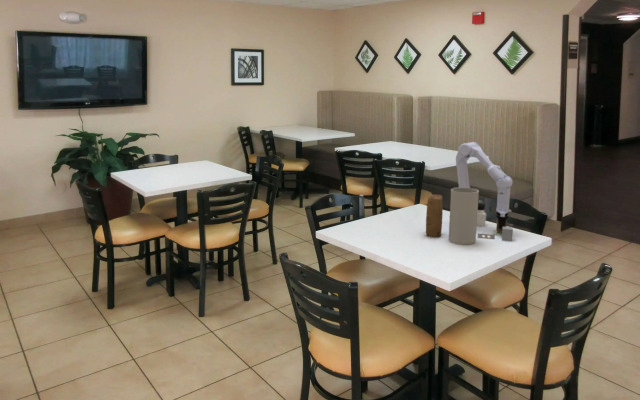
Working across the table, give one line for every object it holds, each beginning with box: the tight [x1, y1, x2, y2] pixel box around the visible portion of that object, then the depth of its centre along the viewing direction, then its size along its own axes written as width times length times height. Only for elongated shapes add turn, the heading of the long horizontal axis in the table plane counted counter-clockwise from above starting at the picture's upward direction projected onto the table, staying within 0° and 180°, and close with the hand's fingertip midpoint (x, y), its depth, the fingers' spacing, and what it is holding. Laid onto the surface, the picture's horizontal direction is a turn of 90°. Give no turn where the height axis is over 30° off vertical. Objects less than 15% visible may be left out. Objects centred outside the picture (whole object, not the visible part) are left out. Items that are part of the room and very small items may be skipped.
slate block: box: [501, 226, 514, 242], centre depth 257 cm, size 4×4×6 cm
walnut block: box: [496, 218, 508, 232], centre depth 267 cm, size 4×4×6 cm
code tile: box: [477, 233, 496, 240], centre depth 263 cm, size 8×8×1 cm
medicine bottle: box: [477, 201, 487, 227], centre depth 283 cm, size 7×7×12 cm
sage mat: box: [492, 229, 502, 236], centre depth 268 cm, size 8×8×1 cm
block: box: [425, 194, 444, 238], centre depth 265 cm, size 11×8×20 cm
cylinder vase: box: [448, 187, 480, 246], centre depth 253 cm, size 12×12×25 cm
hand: (501, 227), depth 268 cm, fingers closed on walnut block, 4 cm apart
